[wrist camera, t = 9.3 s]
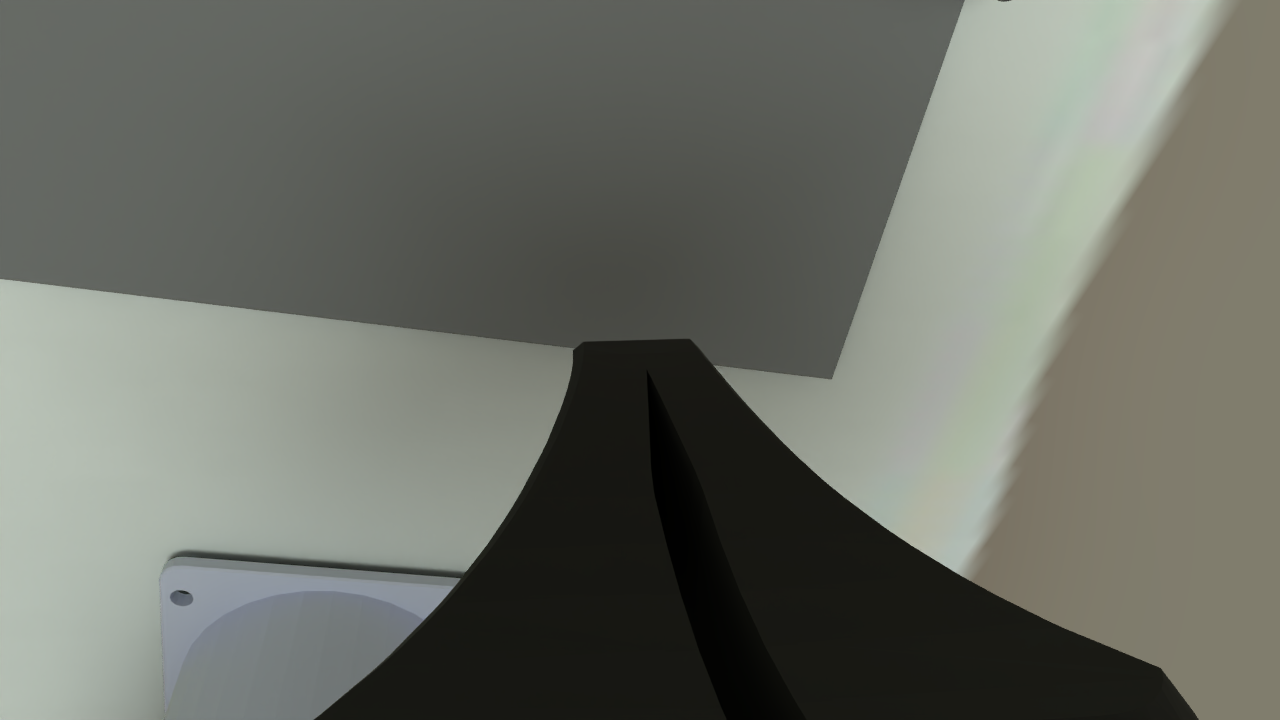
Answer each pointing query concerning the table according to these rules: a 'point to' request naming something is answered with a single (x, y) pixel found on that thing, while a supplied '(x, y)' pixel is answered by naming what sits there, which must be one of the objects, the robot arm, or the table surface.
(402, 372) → the table surface
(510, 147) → the mat
